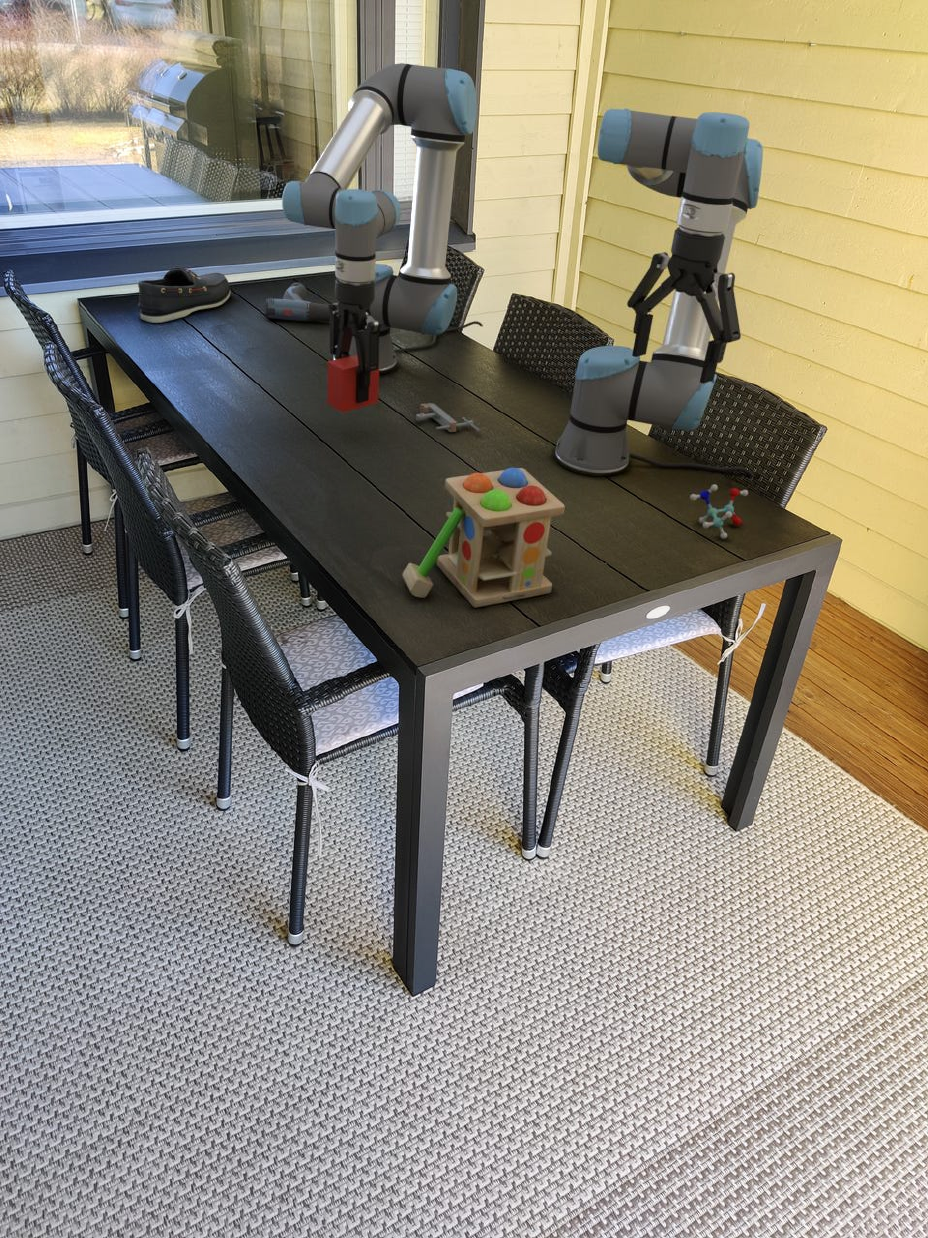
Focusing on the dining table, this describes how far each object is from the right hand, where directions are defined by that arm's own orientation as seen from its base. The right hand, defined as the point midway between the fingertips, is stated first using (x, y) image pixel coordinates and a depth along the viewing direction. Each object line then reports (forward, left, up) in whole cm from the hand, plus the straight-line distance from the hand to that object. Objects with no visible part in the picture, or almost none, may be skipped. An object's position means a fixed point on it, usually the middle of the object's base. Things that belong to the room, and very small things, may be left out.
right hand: (671, 368), depth 158 cm
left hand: (+44, -48, -23) cm, 69 cm away
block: (+44, -48, -25) cm, 70 cm away
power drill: (+43, -129, -32) cm, 140 cm away
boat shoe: (+74, -134, -32) cm, 156 cm away
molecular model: (-17, -4, -32) cm, 37 cm away
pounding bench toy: (+33, +10, -32) cm, 48 cm away
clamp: (+23, -53, -32) cm, 66 cm away
